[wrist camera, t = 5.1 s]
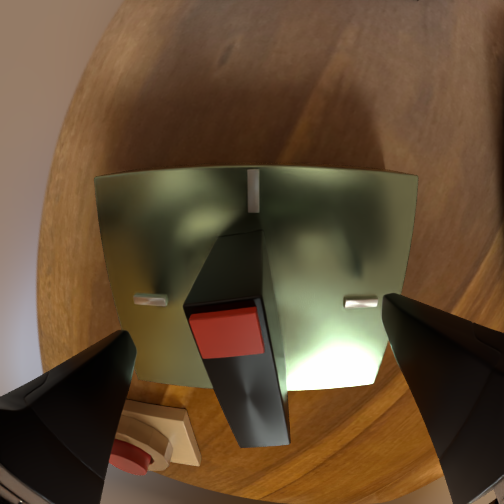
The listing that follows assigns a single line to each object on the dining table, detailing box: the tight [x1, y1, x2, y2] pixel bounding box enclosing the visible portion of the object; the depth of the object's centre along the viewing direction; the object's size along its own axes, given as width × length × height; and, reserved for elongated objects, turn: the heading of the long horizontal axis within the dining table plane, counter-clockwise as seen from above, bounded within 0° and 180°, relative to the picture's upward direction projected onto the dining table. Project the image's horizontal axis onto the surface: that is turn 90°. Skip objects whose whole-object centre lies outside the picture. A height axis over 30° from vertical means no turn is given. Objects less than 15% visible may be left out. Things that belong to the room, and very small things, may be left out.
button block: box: [115, 399, 201, 471], centre depth 17 cm, size 10×8×3 cm
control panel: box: [94, 163, 418, 391], centre depth 12 cm, size 12×10×3 cm
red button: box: [109, 439, 151, 475], centre depth 15 cm, size 4×4×2 cm
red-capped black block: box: [183, 231, 291, 448], centre depth 8 cm, size 6×2×5 cm, turn 11°
